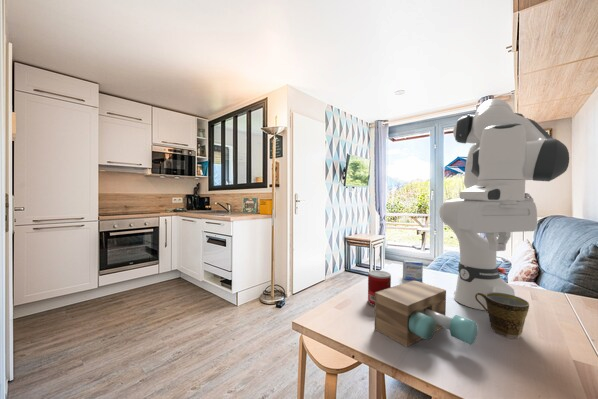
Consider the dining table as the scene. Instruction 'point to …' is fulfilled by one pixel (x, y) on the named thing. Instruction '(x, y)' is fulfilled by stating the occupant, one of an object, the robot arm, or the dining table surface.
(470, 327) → the knob
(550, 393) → the dining table surface
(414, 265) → the medicine box
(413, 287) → the block
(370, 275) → the canned food
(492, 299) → the ceramic cup
